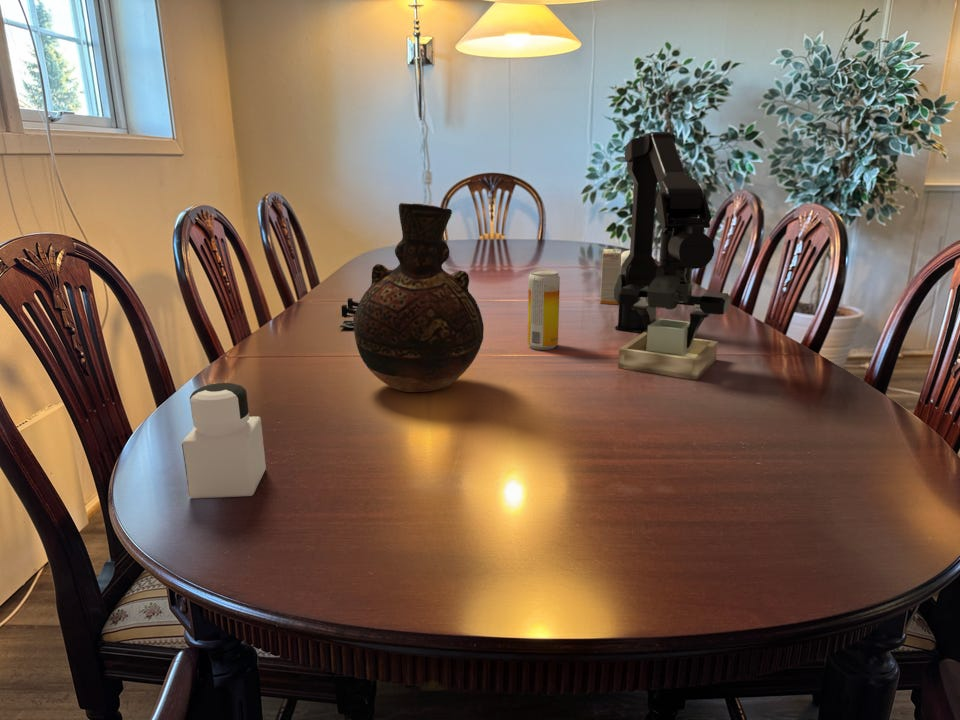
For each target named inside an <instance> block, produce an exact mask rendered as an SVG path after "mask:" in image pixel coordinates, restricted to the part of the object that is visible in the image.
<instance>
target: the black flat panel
mask: <svg viewBox="0 0 960 720" xmlns="http://www.w3.org/2000/svg"><path fill="white" fill-rule="evenodd" d="M358 304H359V302H357V301H354V300H353V297H348V299H347V304H342V305H341V317H342V318H343V317H344V318H345V317H347V316H348V314H350V315H353V320H344V321H343V322H342V324H341V325H340V326H339V328H354V318H355V313H356V309H353V308H354V307H355V308H357V307H358ZM352 307H353V308H352Z"/></svg>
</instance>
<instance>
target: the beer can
mask: <svg viewBox="0 0 960 720" xmlns="http://www.w3.org/2000/svg"><path fill="white" fill-rule="evenodd" d="M560 279H561V278H560V275H559V272H558V271H556V270H552V269H536V270H535V269H534V270H531V271H530V274H529V275H528V282H527V284H528V287H527V288H528V290H527V344H528V345H529V347H530V348H531V349H532V350H538V351H549V350H553V349H555V348H556V346H557V345H558V343H559V324H560V323H559V320H560V319H559V318H560V314H559V313H560V285H561V283H560V282H561V280H560Z"/></svg>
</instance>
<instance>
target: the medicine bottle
mask: <svg viewBox="0 0 960 720" xmlns="http://www.w3.org/2000/svg"><path fill="white" fill-rule="evenodd" d="M248 401H249V400H248V393H247V390H246V388H245V387H244V386H242V385H239V384H236V383H232V382H219V383H218V382H217V383H211V384H206V385H204V386H202V387H199V388H197V389H196V390H194V391H193V392H192V393H191V395H190V396H189V403H190V409H191V417H192V424H193V428H192V429H191V430H190V432H189V433H188V434H187V435H186V437H185V438H184V439H183V440H182V441H181V446H182V447H181V448H182V453H183V454H182V455H183V462H184V469H185V475H186V482H187V488H188V495H189V498H190V499H211V498H213V499H214V498H216V499H217V498H231V497H232V498H233V497H236V498H237V497H252V496H254V494H255V492H256V490H257V488H258V485H259V484H260V482H261V479H262V478H263V476H264V473H265V471H266V468H267V467H266V466H267V465H266V458H265V457H266V455H265V449H264V438H263V437H264V436H263V428H262V419H261V417H260V416H250V412H249V404H248V403H249V402H248Z"/></svg>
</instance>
